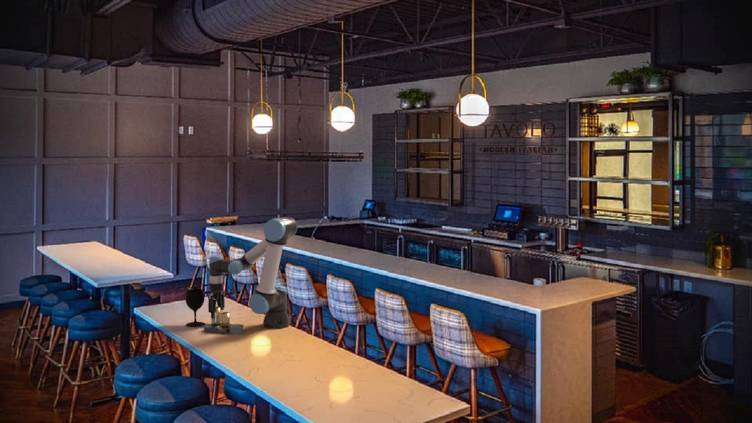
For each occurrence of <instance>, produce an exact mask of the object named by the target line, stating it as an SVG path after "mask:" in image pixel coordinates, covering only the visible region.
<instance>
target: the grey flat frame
mask: <svg viewBox="0 0 752 423" xmlns="http://www.w3.org/2000/svg"><path fill="white" fill-rule="evenodd" d="M234 324H235V323H234ZM234 324H233V323H230V326H232V325H234ZM203 332H204V333H205V332H206V333H215V334H219V335H220V334H221V335H227V334H230V327H229V328H222V322H221V323H219V322H214V323H212V324H211V323H210V324H208V325H204V327H203Z"/></svg>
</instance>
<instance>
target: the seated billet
mask: <svg viewBox="0 0 752 423" xmlns="http://www.w3.org/2000/svg"><path fill="white" fill-rule="evenodd" d="M230 315H231V314H230V312H229V311H222V313H221V319H222V321H221V323H222V328H229V327H230V324H231V322H230V317H231V316H230Z"/></svg>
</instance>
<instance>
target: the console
mask: <svg viewBox="0 0 752 423" xmlns="http://www.w3.org/2000/svg"><path fill="white" fill-rule="evenodd" d="M238 324H239V327H234V325H232V326H230V332H229V335H235V334H236V335H237V336H238V335H240V334H243V333H244V330H245V328H244V327H245V326H244V324H240V323H238Z"/></svg>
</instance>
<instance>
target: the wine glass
mask: <svg viewBox="0 0 752 423" xmlns="http://www.w3.org/2000/svg"><path fill="white" fill-rule="evenodd" d="M184 298H185V304H186V306H187V307H188V308H189V309H190V310H192V311H193V314H194V315H193V316H194V317H193V318H194V319H193V321H190V322H187V323H186V325H185V326H186V327H188V328H199V327H203V326H205V322H203V321H197V311H198V310H200V309H202V306H203V305H204V302H205V292H204V290H203V289H202V288H190V289H188V290H186V292H185V297H184Z"/></svg>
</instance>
